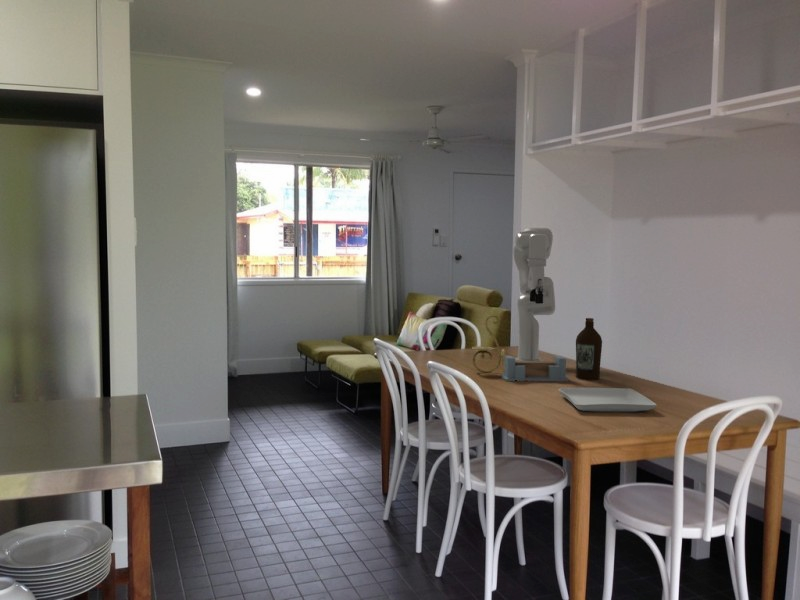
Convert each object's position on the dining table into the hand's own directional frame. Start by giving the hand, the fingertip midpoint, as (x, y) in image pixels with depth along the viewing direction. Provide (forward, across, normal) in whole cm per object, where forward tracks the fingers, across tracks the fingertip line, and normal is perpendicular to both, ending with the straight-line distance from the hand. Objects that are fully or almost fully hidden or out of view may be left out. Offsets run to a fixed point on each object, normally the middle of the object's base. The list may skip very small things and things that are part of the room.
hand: (536, 302), depth 306 cm
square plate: (+31, +63, +9) cm, 71 cm away
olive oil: (+31, +14, +19) cm, 39 cm away
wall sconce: (+31, +2, -21) cm, 37 cm away
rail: (+29, +16, -4) cm, 34 cm away
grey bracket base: (+30, +16, -4) cm, 34 cm away
